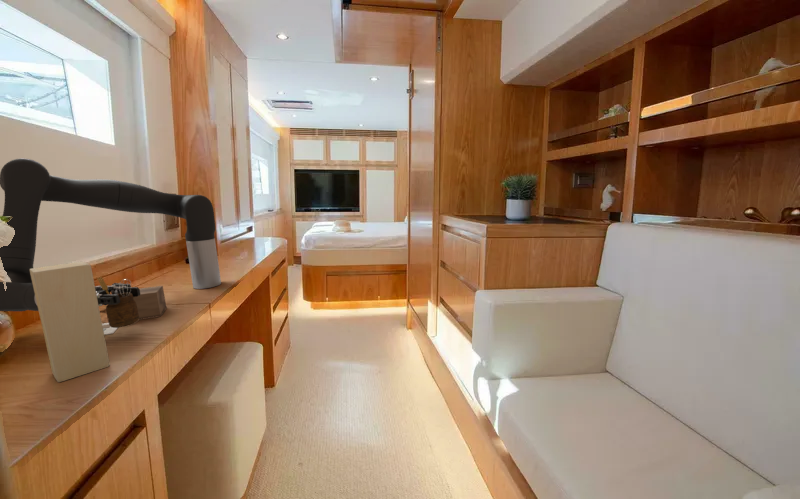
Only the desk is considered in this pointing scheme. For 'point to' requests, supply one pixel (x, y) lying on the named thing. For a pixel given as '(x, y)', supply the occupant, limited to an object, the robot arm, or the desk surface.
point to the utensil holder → (121, 309)
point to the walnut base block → (150, 302)
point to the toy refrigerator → (70, 319)
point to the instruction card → (108, 329)
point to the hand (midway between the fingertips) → (128, 295)
